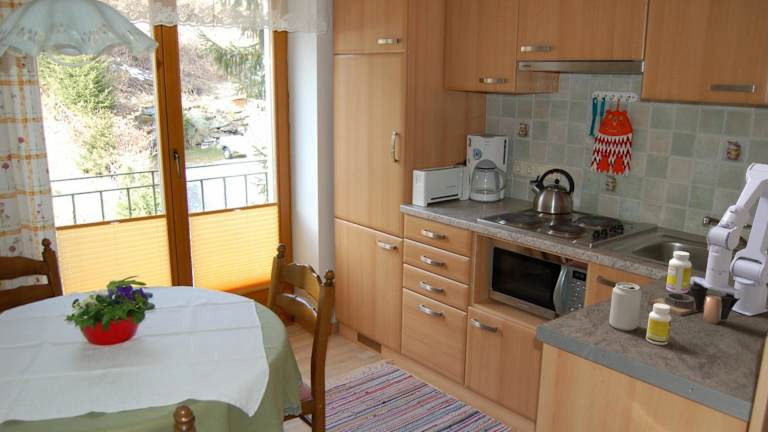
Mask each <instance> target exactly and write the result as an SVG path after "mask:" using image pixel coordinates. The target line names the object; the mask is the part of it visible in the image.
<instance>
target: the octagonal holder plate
mask: <svg viewBox="0 0 768 432" xmlns="http://www.w3.org/2000/svg"><path fill="white" fill-rule="evenodd" d="M656 303H660V304H665V305H668V306H670V312H669V313H672V314H675V315H677V316H680V317H681V316H684V315H689V314H693V313H698V312H702V311H704V307H705V304H704V307H703V310H700V311H697V310H696V305H695V299H694V296H693V295H692V296H691V295H689V294H687V293H674V292H670V291H669V292H665V293H664V296H663V297H660V298H655V299H652V300H651V299H650V300H648V304H649V305H650V304H651V305H650V306H653V305H654V304H656Z"/></svg>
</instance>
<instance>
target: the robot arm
mask: <svg viewBox="0 0 768 432" xmlns="http://www.w3.org/2000/svg"><path fill="white" fill-rule="evenodd" d="M745 182H746V184H745V185H744V188H743V189H742V192H741V194H740V196H739V198H738V200H737V201H736V204H734V205H730V206H729V207H728V208H727V210H726V211H725V212H724V214H723V216H722V218H721V219H720V221H719V222H718V224H717V225H715V226H713V227H711V228H710V229H708V230H709V231H708V232H707V235H706V243H707V248H706V249H707V252H708V257H707V265H706V270H705V271H706V273H705V276H704V277H705V278H704V277H703V278H702V277H698V276H695V275H694V276H690V282H689V284H691V286H689V287H690V288H689V289H690V291H691V293H692V297H693V298H694V300H695V305H696V310H697V311H698V312H701V311H700V310H702V311H704V310H703V307H704V305H705V301H706V296H707V293H708V291H709V290H712V291H716V292H719V293H721V294H724V295H721V296H720V298H721V309H720V320H721V321H724V320H728V319H729V315H730V314H731V311H733V312H737V313H740V314H742V315H745V316H749V317H753V316H755V315H758V314H763V313H766V312H768V309H767V308H766V304H767V301H768V300H767V299H768V287H767V283H768V253H767V251H766V250H767V246H768V164H764V163H759V162H752V163H751V164H750V165H749V166H748V168H747V169H746V174H745ZM758 199H759V201H758V205H757V207H756V208H757V209H756V211H755V215H754V219H753V222H752V226H751V229H750V233H749V237H748V240H747V244H746V247H745V248H743V249H741V250H739V251H737V252H736V253H735V255H734V258H733V251H734V250H735V248H736V247H737V246H738V245H739V242H740V237H741V236H742V232H741V231H742V230H743V228H744V226H745V225H746V223H747V222H748V220H749V219H750V216H751V215H750V212H749V210H751V208H752V207H753V205H754V204H755V203H756V202H757V200H758ZM732 258H733V259H732ZM729 276H731V277H733V278H732V280H734V285H733V286H734V287H733V286H732V285H729V279H730V278H729Z"/></svg>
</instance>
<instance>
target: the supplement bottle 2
mask: <svg viewBox="0 0 768 432" xmlns="http://www.w3.org/2000/svg"><path fill="white" fill-rule="evenodd" d="M672 256H673V258H672V259H670V260H669V262H668V270H667V277H666V278H667V279H666V287H665V289H666V290H667V291H668V292H669V293H670V292H671V293H672V292H673V293H682V294H687V293H688V292H689V289H690V288H689V287H690V280H691V273H692V266H693V265H692V263H691V261H690V260H689V258H690V253H689V252H686V251H682V250H675V251H673V255H672Z"/></svg>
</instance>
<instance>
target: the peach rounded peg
mask: <svg viewBox="0 0 768 432" xmlns="http://www.w3.org/2000/svg"><path fill="white" fill-rule="evenodd" d="M704 305H705V307H704V310H703V315H702V316H703V317H702V321H703V322H705V323H707V324H712V325H713V324H718V323H719V319H720V315H721V309H722V301H721V296H717V295H711V294H710V295H706V296H705V300H704Z"/></svg>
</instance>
